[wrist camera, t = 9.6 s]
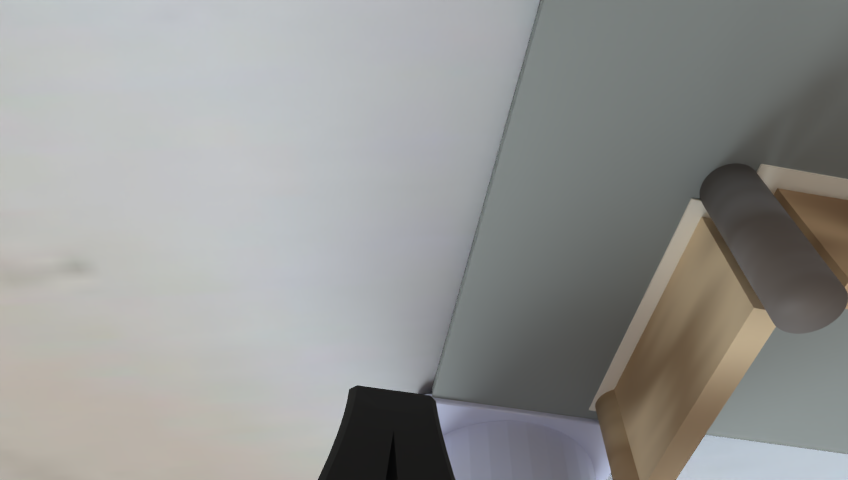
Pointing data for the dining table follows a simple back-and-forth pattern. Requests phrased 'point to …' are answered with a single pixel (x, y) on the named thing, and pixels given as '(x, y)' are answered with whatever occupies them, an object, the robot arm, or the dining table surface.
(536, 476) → the robot arm
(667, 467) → the fence base
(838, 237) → the fence gate
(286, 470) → the dining table surface
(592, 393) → the board
